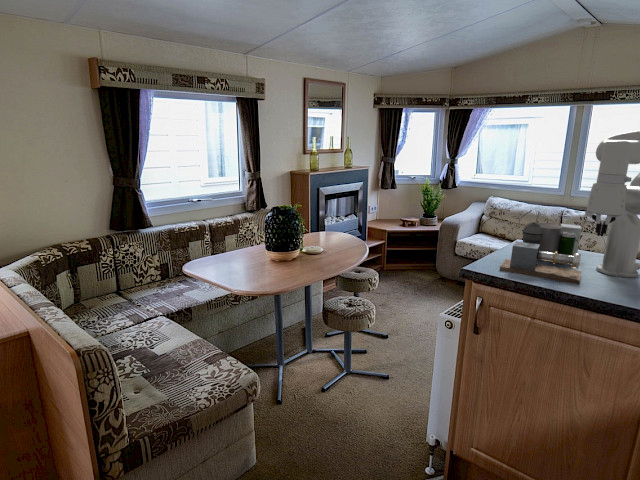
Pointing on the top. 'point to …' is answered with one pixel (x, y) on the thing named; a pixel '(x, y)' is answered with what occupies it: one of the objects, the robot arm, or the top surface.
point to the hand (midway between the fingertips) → (600, 235)
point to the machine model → (536, 265)
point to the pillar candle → (550, 237)
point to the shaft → (560, 258)
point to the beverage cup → (532, 232)
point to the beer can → (566, 244)
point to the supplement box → (573, 229)
